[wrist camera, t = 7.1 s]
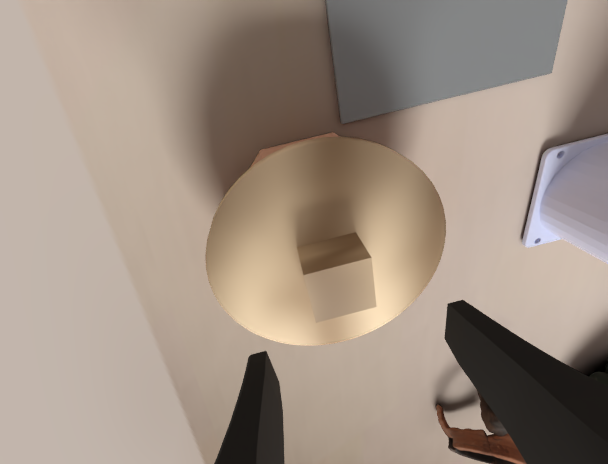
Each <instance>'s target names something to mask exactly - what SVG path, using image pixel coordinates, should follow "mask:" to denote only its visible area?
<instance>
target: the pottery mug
mask: <svg viewBox="0 0 608 464" xmlns="http://www.w3.org/2000/svg"><path fill="white" fill-rule="evenodd" d="M477 391H478V390H477ZM478 394H479V397H480V401H481V402H480V407H481V417H482V420H483V421H484V423H485V426H486V428H487V429H488V431H489V432H491V433H494V434H492V435H488V436H487V435H486V433H485V431H484V430H472V429H459V428H451V427H449V425H448V424H447V422H446V420H445V417H444V413H443V408H442V407H441V406H440V405H437V407H436V409H437V416H438V420H439V423H440V425H441V427H442V429H443V431H444V432H445V434H446V435H447V436H448V438H449V446H448V448H449V449H450V450H451V451H453V452H455V453H457V454H459V455H462V456H465V457H468V458H471V459H474V460H478V461H481V462H485V463H489V464H527V463H526V462H525V460H524V458H523V457H522V455H521V454H520V452H519V450H518V449H517V447H516V445H515V444H514V442H513V440H512V439H511V437H510V435H509V434H508V432H507V431H506V429H505V428H504V426H503V425H502V423H501V422H500V421H499V419H498V418H497V416H496V415H495V414H494V412H493V411H492V409H491V408H490V407H489V405H488V404H487V403H486V401H485V400H484V398H483V397H482V396H481V394H480V393H479V391H478Z"/></svg>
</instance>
